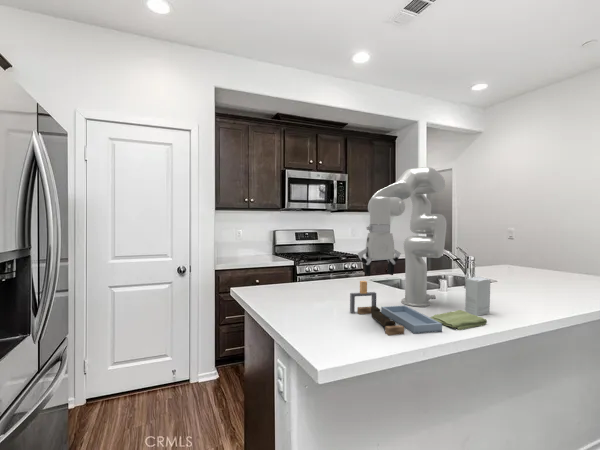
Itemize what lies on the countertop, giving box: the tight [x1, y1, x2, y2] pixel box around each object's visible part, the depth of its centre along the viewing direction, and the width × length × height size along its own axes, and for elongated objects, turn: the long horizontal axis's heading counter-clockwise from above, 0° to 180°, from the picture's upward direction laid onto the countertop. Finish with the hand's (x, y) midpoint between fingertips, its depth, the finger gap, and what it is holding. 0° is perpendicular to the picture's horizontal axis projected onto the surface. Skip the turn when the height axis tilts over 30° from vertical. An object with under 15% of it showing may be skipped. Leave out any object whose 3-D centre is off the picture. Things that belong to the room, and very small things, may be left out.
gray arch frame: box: [349, 280, 377, 314], centre depth 135 cm, size 11×2×13 cm, turn 103°
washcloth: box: [430, 309, 488, 331], centre depth 122 cm, size 13×18×3 cm
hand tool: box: [370, 305, 397, 328], centre depth 121 cm, size 19×4×5 cm, turn 4°
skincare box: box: [464, 276, 491, 317], centre depth 134 cm, size 8×6×15 cm
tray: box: [380, 304, 443, 335], centre depth 122 cm, size 11×24×3 cm, turn 13°
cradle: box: [357, 306, 405, 336], centre depth 121 cm, size 6×26×2 cm, turn 13°
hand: (379, 274), depth 121 cm, fingers open, 9 cm apart
